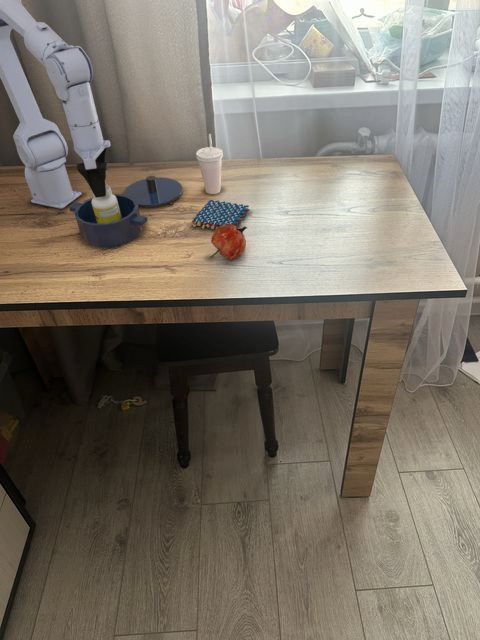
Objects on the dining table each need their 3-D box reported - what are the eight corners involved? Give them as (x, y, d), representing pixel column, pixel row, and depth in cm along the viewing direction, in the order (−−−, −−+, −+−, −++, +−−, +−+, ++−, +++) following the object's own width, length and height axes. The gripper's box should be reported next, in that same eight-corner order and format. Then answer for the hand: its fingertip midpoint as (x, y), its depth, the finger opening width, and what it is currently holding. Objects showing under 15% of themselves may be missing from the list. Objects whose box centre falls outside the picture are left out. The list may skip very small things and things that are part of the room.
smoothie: (222, 197, 124) (217, 140, 114) (197, 195, 125) (190, 138, 115) (228, 185, 128) (224, 129, 118) (204, 183, 129) (198, 127, 119)
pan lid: (164, 213, 119) (161, 196, 116) (113, 203, 123) (108, 186, 120) (193, 186, 128) (191, 169, 125) (144, 177, 132) (141, 161, 129)
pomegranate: (219, 277, 104) (257, 250, 100) (195, 252, 100) (232, 222, 96) (222, 260, 110) (258, 234, 106) (199, 235, 106) (235, 207, 102)
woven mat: (209, 205, 121) (208, 197, 120) (250, 211, 118) (250, 203, 117) (190, 227, 114) (189, 219, 113) (234, 234, 111) (233, 226, 110)
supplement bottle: (101, 223, 115) (89, 182, 108) (125, 221, 115) (115, 181, 109) (97, 236, 111) (85, 195, 104) (122, 234, 112) (112, 193, 105)
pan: (131, 255, 107) (125, 232, 103) (59, 238, 112) (51, 216, 108) (163, 223, 115) (159, 201, 112) (95, 209, 121) (89, 188, 117)
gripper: (104, 133, 92) (120, 201, 102) (104, 106, 103) (119, 170, 112) (64, 137, 91) (85, 206, 101) (68, 109, 102) (86, 174, 111)
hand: (100, 187), depth 106 cm, fingers open, 7 cm apart
